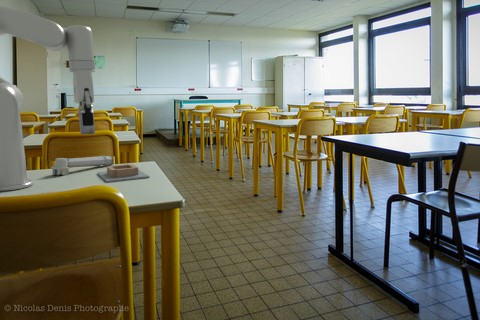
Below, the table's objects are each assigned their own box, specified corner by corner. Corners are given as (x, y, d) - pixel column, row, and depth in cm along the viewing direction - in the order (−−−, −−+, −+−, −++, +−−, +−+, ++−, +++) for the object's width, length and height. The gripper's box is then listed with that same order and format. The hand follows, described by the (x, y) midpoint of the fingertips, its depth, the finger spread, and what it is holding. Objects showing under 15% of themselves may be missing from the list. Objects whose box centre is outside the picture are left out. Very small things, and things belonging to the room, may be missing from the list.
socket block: (106, 182, 128) (106, 173, 127) (97, 173, 141) (96, 165, 141) (149, 177, 134) (148, 168, 134) (136, 169, 148) (136, 161, 148)
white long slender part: (114, 156, 158) (57, 156, 136) (113, 172, 158) (57, 175, 137) (105, 155, 160) (48, 155, 139) (104, 171, 161) (47, 174, 139)
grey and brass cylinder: (81, 134, 125) (79, 105, 124) (79, 133, 129) (77, 105, 128) (96, 133, 128) (93, 105, 126) (93, 132, 131) (91, 105, 130)
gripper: (66, 68, 130) (71, 124, 133) (72, 65, 116) (78, 127, 119) (90, 68, 134) (94, 122, 137) (99, 65, 119) (104, 126, 122)
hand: (87, 124), depth 128 cm, fingers closed on grey and brass cylinder, 4 cm apart
